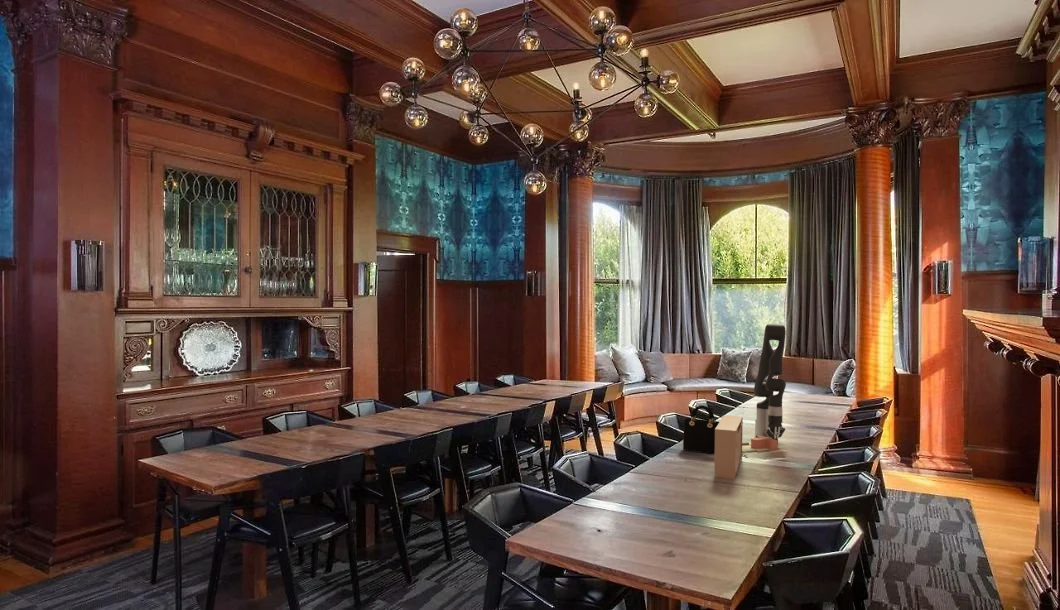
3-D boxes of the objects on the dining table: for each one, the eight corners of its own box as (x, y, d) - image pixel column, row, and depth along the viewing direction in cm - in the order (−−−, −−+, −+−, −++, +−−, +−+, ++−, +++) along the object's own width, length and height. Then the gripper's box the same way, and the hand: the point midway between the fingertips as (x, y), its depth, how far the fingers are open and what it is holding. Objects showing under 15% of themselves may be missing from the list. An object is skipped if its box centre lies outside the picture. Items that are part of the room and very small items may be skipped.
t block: (746, 445, 359) (746, 436, 359) (762, 444, 362) (762, 435, 362) (760, 450, 347) (760, 441, 347) (777, 449, 351) (777, 440, 351)
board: (718, 446, 361) (718, 442, 361) (759, 443, 370) (759, 439, 370) (746, 456, 338) (746, 452, 338) (788, 453, 347) (788, 449, 347)
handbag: (723, 452, 348) (723, 406, 348) (718, 455, 341) (719, 408, 340) (686, 447, 359) (686, 402, 359) (681, 450, 352) (681, 405, 352)
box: (743, 460, 332) (743, 416, 332) (736, 479, 295) (737, 430, 295) (723, 458, 335) (723, 415, 335) (714, 477, 299) (714, 429, 298)
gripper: (780, 412, 363) (779, 442, 363) (761, 413, 359) (760, 444, 359) (789, 414, 356) (789, 445, 356) (770, 415, 352) (770, 447, 352)
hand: (774, 445), depth 358 cm, fingers closed
